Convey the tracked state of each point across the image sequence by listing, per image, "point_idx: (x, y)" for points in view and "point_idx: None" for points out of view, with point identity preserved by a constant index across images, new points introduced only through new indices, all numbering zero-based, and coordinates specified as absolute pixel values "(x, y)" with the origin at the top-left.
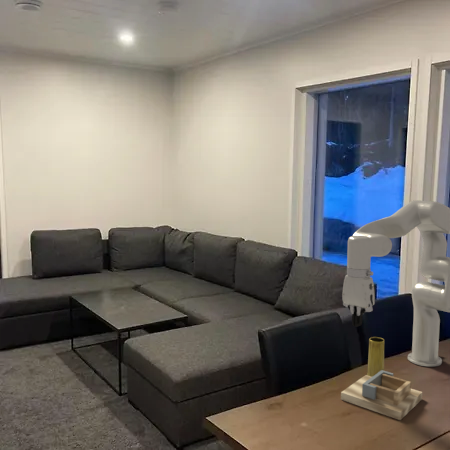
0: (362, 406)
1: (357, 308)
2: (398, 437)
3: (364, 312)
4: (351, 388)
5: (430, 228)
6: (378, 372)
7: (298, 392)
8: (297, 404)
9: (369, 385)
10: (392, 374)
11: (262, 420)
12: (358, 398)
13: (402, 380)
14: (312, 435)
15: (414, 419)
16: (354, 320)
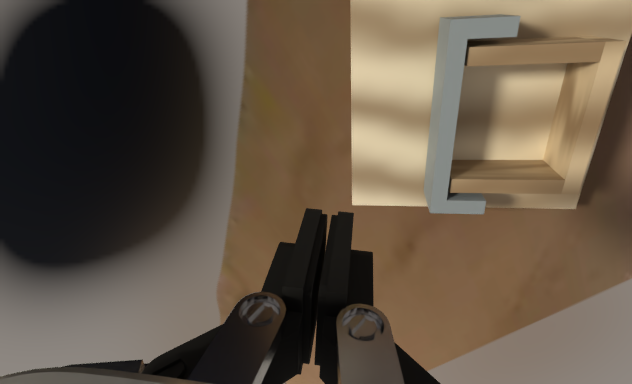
0: None
1: (270, 354)
2: (572, 274)
3: (417, 378)
4: (365, 159)
5: None
6: (447, 62)
7: (237, 229)
8: None
9: (458, 209)
10: (517, 30)
11: None
12: (417, 205)
13: (579, 57)
14: None
15: (607, 162)
16: (316, 319)
